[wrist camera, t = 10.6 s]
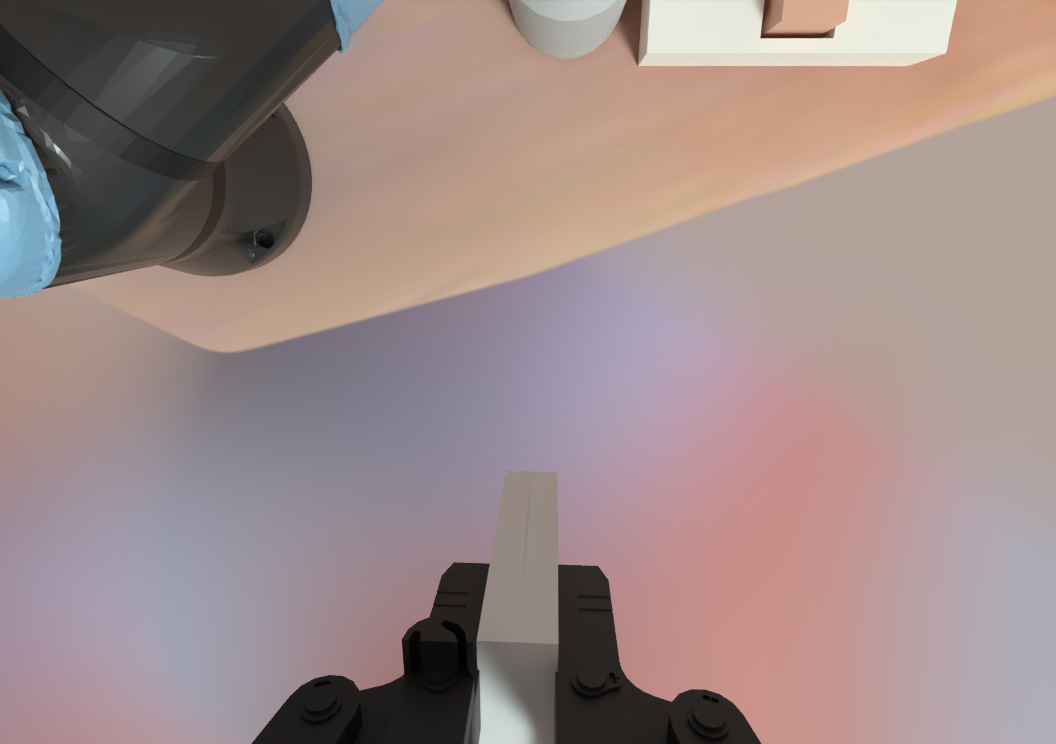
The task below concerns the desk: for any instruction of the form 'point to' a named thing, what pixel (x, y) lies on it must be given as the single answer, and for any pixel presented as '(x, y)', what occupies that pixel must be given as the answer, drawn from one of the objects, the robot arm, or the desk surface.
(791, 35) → the terracotta button
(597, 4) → the can
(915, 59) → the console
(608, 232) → the desk surface
